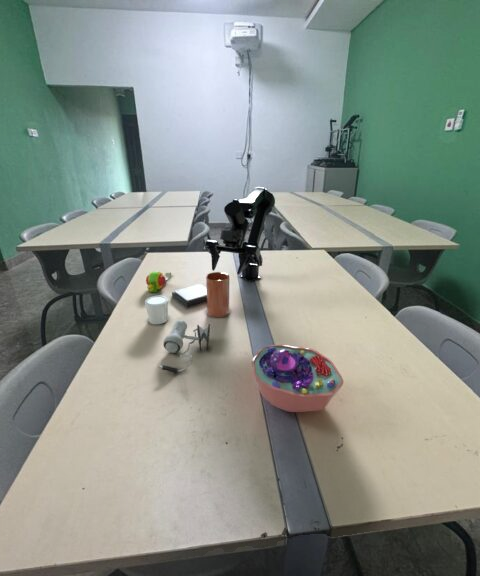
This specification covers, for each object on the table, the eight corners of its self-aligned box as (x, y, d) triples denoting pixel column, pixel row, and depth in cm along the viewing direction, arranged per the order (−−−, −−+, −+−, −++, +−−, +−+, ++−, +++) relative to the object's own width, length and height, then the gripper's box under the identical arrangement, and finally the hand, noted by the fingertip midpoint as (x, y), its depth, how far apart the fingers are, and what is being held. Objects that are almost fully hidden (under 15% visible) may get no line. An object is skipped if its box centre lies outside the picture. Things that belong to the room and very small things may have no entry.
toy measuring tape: (141, 293, 117) (139, 277, 114) (162, 274, 134) (160, 259, 132) (158, 295, 116) (156, 278, 113) (176, 275, 134) (175, 261, 131)
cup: (221, 305, 111) (220, 270, 105) (233, 313, 106) (233, 277, 100) (203, 311, 106) (201, 275, 101) (215, 319, 101) (214, 282, 96)
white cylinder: (172, 315, 103) (171, 296, 100) (165, 326, 97) (163, 306, 94) (152, 313, 103) (150, 294, 101) (143, 324, 97) (140, 304, 94)
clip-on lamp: (198, 384, 78) (213, 333, 92) (198, 368, 74) (214, 317, 88) (151, 377, 78) (174, 326, 92) (149, 361, 74) (172, 310, 89)
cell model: (320, 445, 60) (328, 400, 55) (234, 401, 69) (235, 359, 65) (347, 393, 73) (355, 352, 68) (272, 362, 83) (275, 324, 78)
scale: (200, 288, 122) (200, 283, 121) (216, 299, 115) (216, 292, 114) (172, 296, 115) (171, 290, 114) (187, 308, 108) (186, 301, 107)
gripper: (206, 216, 107) (191, 257, 102) (258, 222, 102) (245, 265, 96) (216, 234, 117) (203, 272, 112) (264, 240, 112) (253, 280, 107)
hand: (225, 272), depth 106 cm, fingers open, 9 cm apart
